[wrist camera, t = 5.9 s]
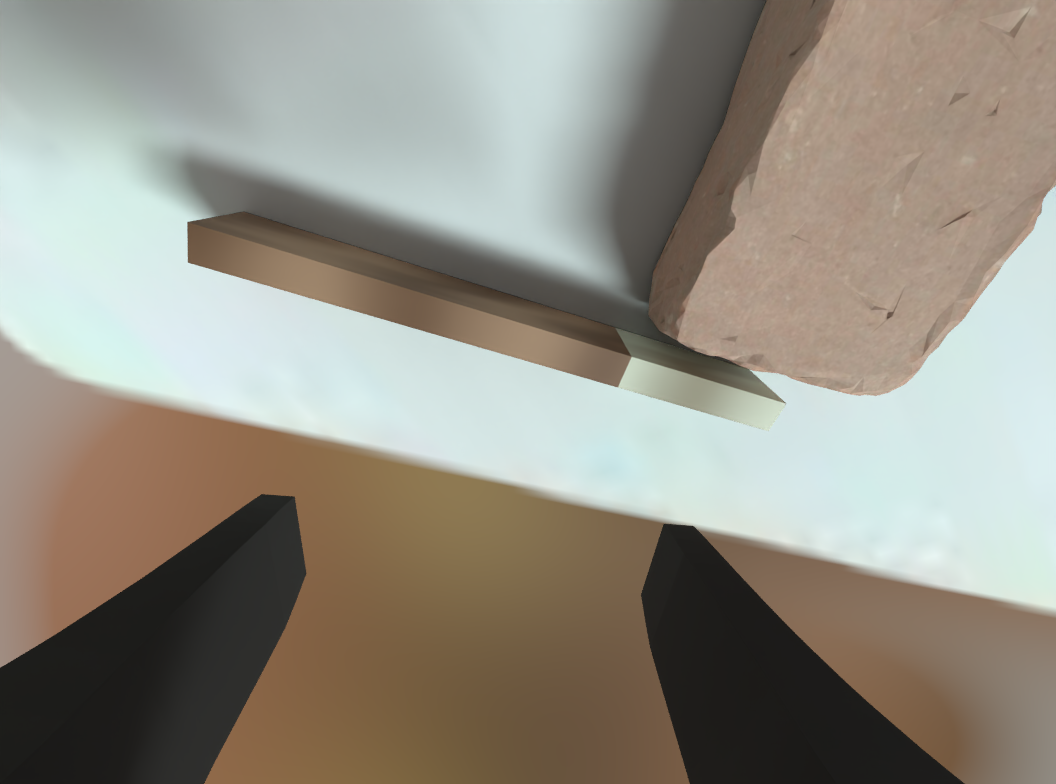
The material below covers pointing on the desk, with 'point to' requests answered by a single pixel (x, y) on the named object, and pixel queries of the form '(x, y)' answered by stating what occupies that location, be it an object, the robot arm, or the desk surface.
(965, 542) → the desk surface
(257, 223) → the lane
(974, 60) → the brick
